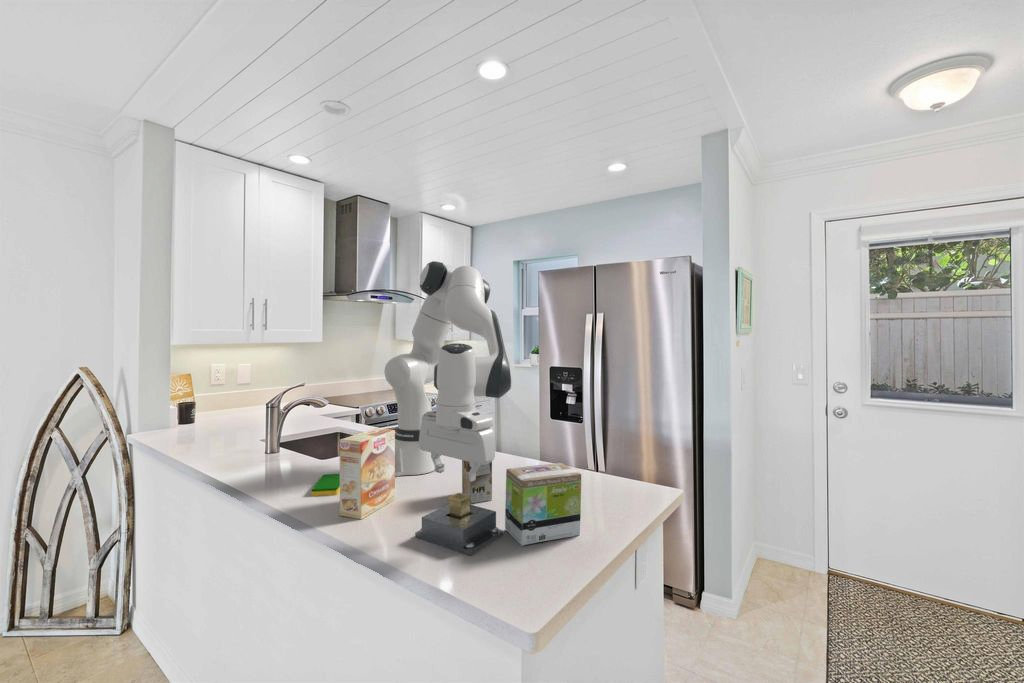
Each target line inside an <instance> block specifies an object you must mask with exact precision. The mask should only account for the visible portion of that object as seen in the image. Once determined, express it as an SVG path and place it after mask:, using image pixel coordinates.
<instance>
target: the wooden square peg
mask: <svg viewBox="0 0 1024 683" xmlns="http://www.w3.org/2000/svg"><path fill="white" fill-rule="evenodd" d="M471 499H472V496H470V495H466V494H463V493H461V492H457V493H455V494H453V495H450V496H449V497H447V501H448V502H449V504H450V517H452V518H456V519H459V520H462V519H464V518H465V517H467V516H469V515H470V505H471V502H470V500H471Z"/></svg>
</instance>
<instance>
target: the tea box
mask: <svg viewBox="0 0 1024 683" xmlns="http://www.w3.org/2000/svg"><path fill="white" fill-rule="evenodd" d="M505 472H506V474H505V475H506V478H505V503H504V504H505V505H504V506H505V510H504V513H505V515H504V529H505V530H506V531H507V533H508V534H509V535H510V536H511V537H513V539H514V540H515V541H516V542H517V543H518V544H519V545H520V546H521V547H524V546H528V545H531V544H536V543H541V542H542V543H543V542H547V541H553V540H559V539H566V538H567V539H568V538H572V537H578V536H580V534H581V533H580V532H581V516H582V514H581V511H582V504H581V503H582V473H580V472H578V471H577V470H575V469H574V468H571V467H569V466H568V465H566V464H564V463H563V462H555V463H547V464H539V465H538V464H537V465H529V466H521V467H520V466H519V467H511V468H506V471H505Z"/></svg>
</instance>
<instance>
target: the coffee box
mask: <svg viewBox="0 0 1024 683" xmlns="http://www.w3.org/2000/svg"><path fill="white" fill-rule="evenodd" d="M470 470H471V466H470V462H469V461H464V460H461V474H462V476H461V477H462V478H461V479H462V480H461V485H462V486H461V488H462V489H461V490H462V491H461V492H462V494H466V495H470V496H472V499H471V500H470V504H476V503H482V502H491V501H492V500H493V461H492V462H490V463H488V464H485V465H481V464H480V467H479V469H478V470H477V472H476V479H475V481H472V482H471V481H467V480H466V473H467V472H469V471H470Z"/></svg>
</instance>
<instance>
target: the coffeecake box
mask: <svg viewBox="0 0 1024 683" xmlns="http://www.w3.org/2000/svg"><path fill="white" fill-rule="evenodd" d="M339 474H340V492H339V516H340V517H341V516H342V517H346V518H352V519H356V520H363V519H365V518H366V517H367V516H369V515H371V514H372V513H374V512H377V511H378V510H379V509H381V508H382V507H385V506H386V505H388V504H390V503H391V502H394V500H396V476H395V430H392V429H390V428H389V429H388V428H376V427H374V428H373V429H369V430H366V431H363V432H360V433H356V434H353V435H350V436H347V437H345V438H340V439H339Z"/></svg>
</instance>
